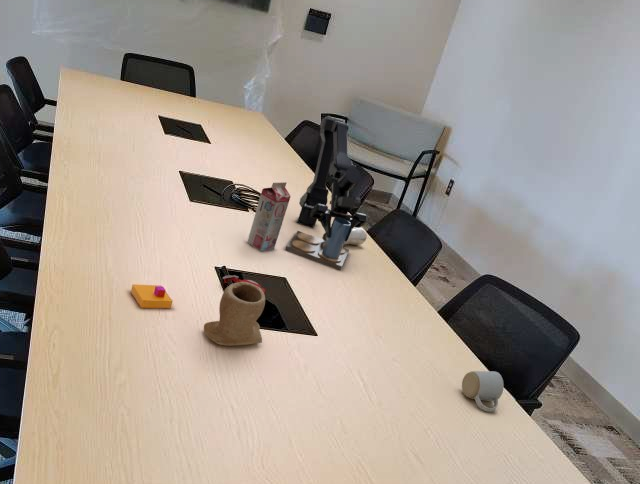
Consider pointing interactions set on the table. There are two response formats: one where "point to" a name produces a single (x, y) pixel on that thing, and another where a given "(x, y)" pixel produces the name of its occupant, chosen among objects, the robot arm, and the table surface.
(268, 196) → the juice carton
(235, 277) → the tracker holder
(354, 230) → the silver metal bottle
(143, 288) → the orange tile with cube
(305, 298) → the table surface
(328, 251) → the tumbler
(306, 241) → the coaster board
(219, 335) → the stone cup
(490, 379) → the ceramic mug
